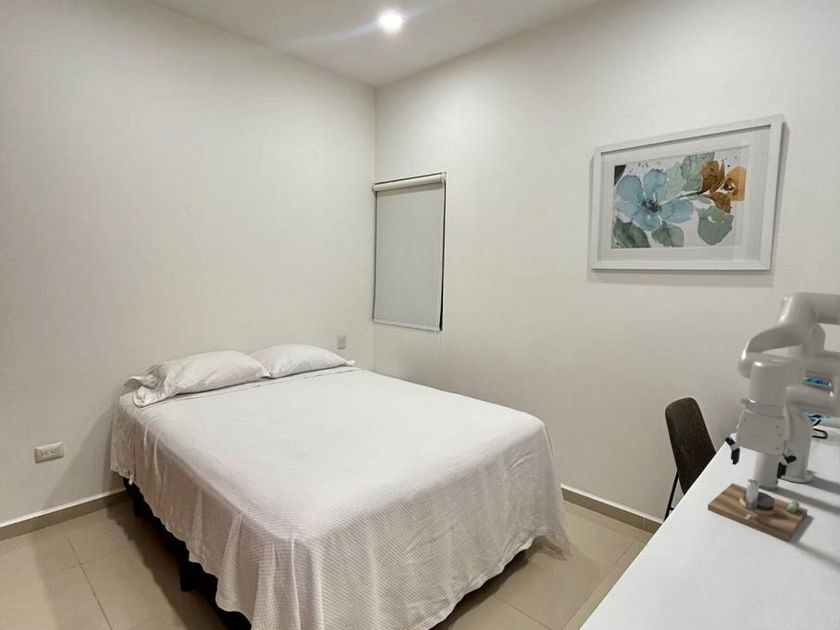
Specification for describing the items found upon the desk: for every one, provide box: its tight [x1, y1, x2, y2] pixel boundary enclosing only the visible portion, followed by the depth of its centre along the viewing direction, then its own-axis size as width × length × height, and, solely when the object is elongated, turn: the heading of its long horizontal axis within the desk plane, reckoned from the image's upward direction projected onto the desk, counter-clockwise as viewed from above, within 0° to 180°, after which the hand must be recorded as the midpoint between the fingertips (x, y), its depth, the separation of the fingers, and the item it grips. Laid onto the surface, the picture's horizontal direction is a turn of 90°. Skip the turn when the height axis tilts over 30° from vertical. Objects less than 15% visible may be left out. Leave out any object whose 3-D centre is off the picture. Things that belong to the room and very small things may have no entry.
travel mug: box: [752, 451, 780, 492], centre depth 140 cm, size 6×7×20 cm
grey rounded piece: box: [743, 478, 775, 511], centre depth 124 cm, size 7×13×9 cm, turn 130°
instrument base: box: [707, 482, 808, 543], centre depth 127 cm, size 20×18×3 cm
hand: (756, 469), depth 120 cm, fingers open, 9 cm apart
